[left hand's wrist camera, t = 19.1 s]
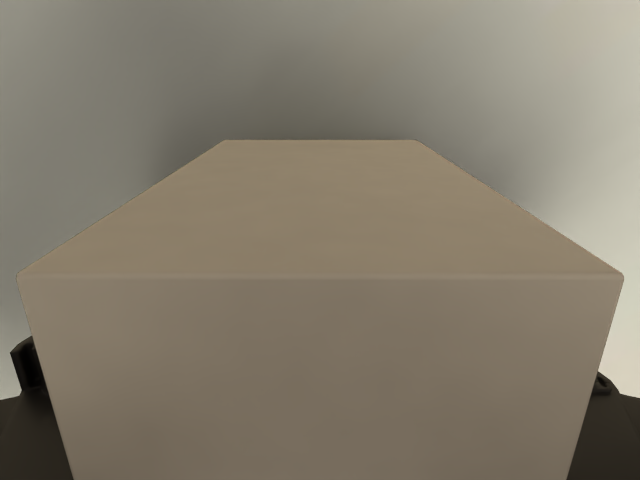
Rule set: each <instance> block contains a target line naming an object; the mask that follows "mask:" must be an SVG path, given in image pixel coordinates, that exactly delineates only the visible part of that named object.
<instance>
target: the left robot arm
mask: <svg viewBox="0 0 640 480" xmlns="http://www.w3.org/2000/svg"><path fill="white" fill-rule="evenodd" d="M10 354H11V358H12V361H13V364H14V367H15V370H16V373H17V376H18V379H19V383H20V386H21V389H22V392H21V394H20V396H17V397H13V398H8V399H3V400H0V480H74V479H73V476H72V472H71V469H70V465H69V462H68V458H67V455H66V451H65V448H64V444H63V441H62V437H61V434H60V430H59V427H58V424H57V420H56V417H55V413H54V410H53V406H52V403H51V399H50V396H49V392H48V389H47V385H46V382H45V378H44V375H43V371H42V368H41V365H40V361H39V358H38V354H37V351H36V347H35V344H34V340H33V337H32V336H30V337H29V338H27V339H26V340H24V341H22V342H21V343H19V344H18V345H17V346H16V347H15V348H14V349H13V350H12V351H11V352H10ZM566 480H640V398H636V397H631V396H627V395H623V394H620V393H619V391H618V389H617V388H616V387H615V385H614V384H613V383H612V381H611V380H609V379H608V378H607V377H605V376H604V375H602V374H601V373H600V372H597V375H596V379H595V382H594V386H593V389H592V393H591V396H590V399H589V403H588V406H587V410H586V413H585V417H584V420H583V424H582V427H581V431H580V434H579V438H578V441H577V445H576V448H575V451H574V455H573V458H572V462H571V465H570V469H569V472H568V476H567V479H566Z"/></svg>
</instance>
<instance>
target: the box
mask: <svg viewBox="0 0 640 480" xmlns="http://www.w3.org/2000/svg"><path fill="white" fill-rule="evenodd" d="M16 281H17V285H18V288H19V292H20V295H21V299H22V302H23V306H24V309H25V313H26V316H27V319H28V323H29V326H30V330H31V333H32V337H33V340H34V344H35V347H36V351H37V354H38V358H39V361H40V365H41V368H42V371H43V375H44V378H45V382H46V385H47V389H48V392H49V396H50V399H51V403H52V406H53V410H54V413H55V417H56V420H57V424H58V427H59V430H60V434H61V437H62V441H63V444H64V448H65V451H66V455H67V458H68V462H69V465H70V469H71V472H72V476H73V479H74V480H566V479H567V476H568V472H569V469H570V465H571V462H572V458H573V455H574V451H575V448H576V445H577V441H578V438H579V434H580V431H581V427H582V424H583V420H584V417H585V413H586V410H587V406H588V403H589V399H590V396H591V393H592V389H593V386H594V382H595V379H596V375H597V372H598V368H599V365H600V361H601V358H602V354H603V351H604V348H605V344H606V341H607V337H608V334H609V330H610V327H611V323H612V320H613V316H614V313H615V309H616V306H617V302H618V299H619V296H620V292H621V289H622V285H623V282H624V276H623V274H622V273H621V272H619V271H618V270H616V269H615V268H613V267H612V266H610V265H609V264H607V263H605V262H604V261H602V260H601V259H599V258H598V257H596V256H595V255H593V254H592V253H590V252H588V251H587V250H585V249H584V248H582V247H581V246H579V245H578V244H576V243H575V242H573V241H572V240H570V239H568V238H567V237H565V236H564V235H562V234H561V233H559V232H558V231H556V230H555V229H553V228H552V227H550V226H548V225H547V224H545V223H544V222H542V221H541V220H539V219H538V218H536V217H535V216H533V215H531V214H530V213H528V212H527V211H525V210H524V209H522V208H521V207H519V206H518V205H516V204H515V203H513V202H511V201H510V200H508V199H507V198H505V197H504V196H502V195H501V194H499V193H498V192H496V191H494V190H493V189H491V188H490V187H488V186H487V185H485V184H484V183H482V182H481V181H479V180H478V179H476V178H474V177H473V176H471V175H470V174H468V173H467V172H465V171H464V170H462V169H461V168H459V167H457V166H456V165H454V164H453V163H451V162H450V161H448V160H447V159H445V158H444V157H442V156H441V155H439V154H437V153H436V152H434V151H433V150H431V149H430V148H428V147H427V146H425V145H424V144H422V143H420V142H419V141H417V140H223V141H222V142H220V143H219V144H217V145H216V146H214V147H212V148H211V149H209V150H208V151H206V152H205V153H203V154H202V155H200V156H198V157H197V158H195V159H194V160H192V161H191V162H189V163H188V164H186V165H185V166H183V167H181V168H180V169H178V170H177V171H175V172H174V173H172V174H171V175H169V176H167V177H166V178H164V179H163V180H161V181H160V182H158V183H157V184H155V185H153V186H152V187H150V188H149V189H147V190H146V191H144V192H143V193H141V194H139V195H138V196H136V197H135V198H133V199H132V200H130V201H129V202H127V203H125V204H124V205H122V206H121V207H119V208H118V209H116V210H115V211H113V212H111V213H110V214H108V215H107V216H105V217H104V218H102V219H101V220H99V221H98V222H96V223H94V224H93V225H91V226H90V227H88V228H87V229H85V230H84V231H82V232H80V233H79V234H77V235H76V236H74V237H73V238H71V239H70V240H68V241H66V242H65V243H63V244H62V245H60V246H59V247H57V248H56V249H54V250H52V251H51V252H49V253H48V254H46V255H45V256H43V257H42V258H40V259H38V260H37V261H35V262H34V263H32V264H31V265H29V266H28V267H26V268H25V269H23V270H21V271H20V272H18V273H17V275H16Z"/></svg>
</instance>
